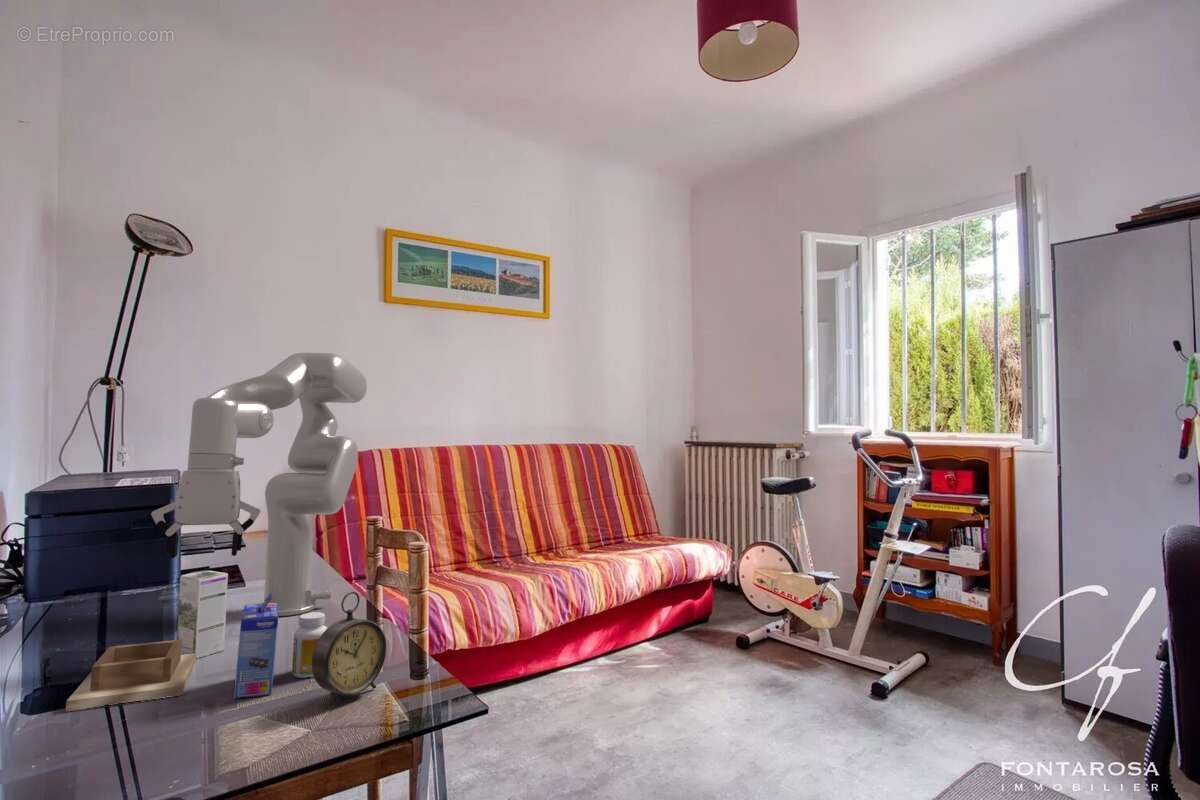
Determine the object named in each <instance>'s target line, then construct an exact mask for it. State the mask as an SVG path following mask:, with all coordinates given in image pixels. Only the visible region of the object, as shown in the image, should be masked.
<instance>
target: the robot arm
mask: <svg viewBox="0 0 1200 800" xmlns="http://www.w3.org/2000/svg"><path fill="white" fill-rule="evenodd" d="M367 385H368V384H367V381H366V377H365V375H364V374H363V373H362V371H361V370H360V369H358V368H357V366H354V364H352V363H351V362H350V361H348V359H346V358H344V357H343V356H341V355H339V354H337V353H331V352H297V353H294V354H291V355H289V356H288V357H286V358H284V359H283V360H282V361H281V362H279V363H278V364H277V365H276V366H274V367H272V368H271V369H270V370H268V371H267V372H266V373H264V374H261V375H257V376H253V377H251V378H248V379H244V380H241V381H238V382H235V383H232V384H229V385H226V386H224V387H221V388H219V389H217V390H216V391H214V392H213V393H211V394H209V395H207V397H201V398H200V397H199V398H197V399H196V400H195V401H194V402H193V404H192V411H191V420H190V421H191V422H190V423H191V424H190V434H189V445H188V446H189V447H188V457H187V458H188V459H187V470H182V473H181V477H180V481H179V484H178V489H177V495H176V500H175V501H173V502H171V503H169V504H167V505H165V506H162V507H160V508H159V507H158V508H157V509H155V510H153V511H151V514H150V515H151V518H152V519H153V521H154V522H155V524H156V527H157V528H158V529H160V530H161V532H163V534H165V536H167V540H166V549H165V550H166V554H169V559H175V558H176V557H177V556H178V551H179V549H178V548H179V537H180V535H179V534H178V531H179V530H180V528H182V527H183V526H210V525H211V526H212V525H213V526H214V525H229V526H230V527H231V528H232V529H233V530H234V533H233V534H232V543H231V556H233V557H235V556H237V553H238V551H239V552H240V551H242V543H243V542H242V541H243V533H244V532H246V531H247V530H248V529H249V528H250V527H251V526H253V524H254V523H255V521H256V520H257V518H258V517H259V515H260V513H261V509H260V508H258V507H256V506H253V505H251V504H249V503H247V502H245V501H242V500H241V476H240V471H239V470H235V468H236V467H238V466H244V463H245V462H244V461H245V459H244V457H238V456H237V454H236V452H237V439H258V438H261V437H265V435H266V434H269V432H270V431H271V430H272V427H273V426H274V421H275V420H274V419H275V418H274V414H273V410H279V409H283V408H286V407H288V406H290V405H291V404H293V403H294V402H295V401H297V400H299V405H300V409H301V412H302V418H301V422H300V425H299V428H298V431H297V433H296V436H295V437H294V440H293V441H292V442H293V443H292V445H291V447H290V449H289V453H288V456H287V465H288V467H289V468H290V469H291V470H292V471H293V472H284V473H279V474H277V475H274V476H273V477H272V478H270V480H268V482H267V483H266V487H265V490H264V491H265V493H264V496H265V505H266V506H265V507H266V511H267V543H266V557H265V558H266V559H265V576H264V577H265V578H264V592H263V602H262V603H264V602H265V600H266V598H267V597H268V596H269V594H270V593H271V592H272V598H271V600H270V602H269V603H278V617H287V616H295V615H300V614H301V615H302V614H306V613H309V612H312V610H314V609H316V607H317V600H331V597H332V595H331V594H332V591H331V590H330V589H329V590H325V589H319V590H315V589H312V585H311V577H312V576H311V574H312V573H311V572H312V558H313V556H312V555H313V541H314V539H313V538H314V533H313V532H314V531H313V527H312V525H311V523H310V520H309V519H308V518H307V516H306V515H327V516H328V515H333V514H336V513H338V512H339V511H340V510H341V509H342V508H343V506H344V504H345V502H346V499H347V495H348V493H349V489H350V487H351V483H352V481H353V478H354V475H355V472H356V469H357V465H358V459H359V449H358V446H357V443H356V442H355V440H353V439H352V438H350V437H349V436H348V437H347V436H343V435H336V433H337V431H338V428H339V424H338V420H337V419H336V415H334V413H333V412H332V410H331V409H330V408H329V406H328V404H327V403H335V404H336V403H339V404H340V403H341V404H345V403H346V404H354V403H359V402H360V401H362V400H363V399H364V398H365V396H366V394H367V390H368V386H367ZM173 510H174V515H173V519H174V523H173V524H172V525H171V524H169V523H168V522H167V521H166V520H165V518H164V514H167V513H170V512H171V511H173ZM241 510H242V511H244V512H247V513H248V514H249V515H250V516H249V517H248V518H247V520H245V521H244V522H243V523H241V521H239V520H238V519H239V518H240V512H241Z"/></svg>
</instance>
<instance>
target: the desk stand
mask: <svg viewBox="0 0 1200 800" xmlns="http://www.w3.org/2000/svg"><path fill="white" fill-rule="evenodd" d="M181 645H182V640H177V639H173V640H165V641H153V642H145V643H135V644H124V645H114V646H109V647H108V648H107V649H106V650H105V651H104V653H102V655H100V657H99V658H98V660H97V661H96V662H95V663H94V664H93V665H92V667H91V672H90V673H89V674H88V675H87V676H86V677H85V679H84V680H83V681H82V682H81V684H80V685H79V686H78V687H77V688H76V690H74V692H73V693H72V694H71V695H70V696H69V698H67V700H66V703H65V712H71V711H72V712H74V711H81V710H88V709H87V708H89V709H94V708H93V707H95V706H101V705H107V704H108V705H109V704H114V703H126V702H133V701H139V700H144V699H153V698H159V697H167V696H179V697H181V696H180V695H182V696H183V693H184V691H185V689H186V686H187V684H188V682H187V681H189V680H190V677H191V675H192V673H191V671H192V672H193V670H194V668H195V666H194V664H195V665H196V663H197V659H196V656H197V653H194V654H185V655H181ZM195 662H196V663H195ZM193 667H194V668H193ZM192 669H193V670H192ZM190 674H191V675H190ZM189 676H190V677H189ZM188 679H189V680H188ZM184 688H185V689H184ZM183 690H184V691H183ZM126 704H127V703H126ZM91 707H92V708H91Z"/></svg>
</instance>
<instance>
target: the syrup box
mask: <svg viewBox="0 0 1200 800" xmlns="http://www.w3.org/2000/svg"><path fill="white" fill-rule="evenodd" d="M228 578H229V574H228V573H226V572H220V571H215V570H214V571H213V570H199V571H194V572H190V573H186V574H183V575H180V579H179V597H178V613H177V615H178V616H177V630H176V631H177V634H176V640H182V645H181V655H185V654H194V653H197V656H196V658H198V659H200V658H199V657H201V656H206V655H209V654H212V655H214V654H213V653H216V652H218V651H220V650H223V649H224V650H225V637H226V617H227V598H228V596H227V595H228ZM216 654H217V653H216ZM209 656H210V655H209ZM206 657H207V656H206Z"/></svg>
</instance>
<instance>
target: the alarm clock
mask: <svg viewBox="0 0 1200 800" xmlns="http://www.w3.org/2000/svg"><path fill="white" fill-rule="evenodd" d="M352 594H353V595H355V596H356V598H357V601H356V602H357V603H356V606H355V607H354V608H353V609H350V608H349V609H347V610H345V608H344V602H345V600H346V598H347V597H348V596H349V595H352ZM359 604H360V595H359V593H358V592H356V591H350V592H347V593H346V594H345V595H344V596H343V598H342V600H341V604H340V606H341V610H342V612H343V613H345V614H347V616H346V617H345V618H343V619H342V618H340V619H339V620H337V621H335V622H334V623H332V624H331V625H330V626H327V629H326V630H325V631H324V633H323V634H322V635H321V637H320V638H319V640H318V642H317V644H316V646H315V649H314V652H313V656H312V672H313V676H314V677H313V678H314V680H315V681H316V683H317V684H318V686H319V687H320V688H322V689H323V690H326V691H327V692H330V694H329V696H328V697H327V701H326V703H325V704H324V706H323V707H324V709H328V708H330V704H331V702H332V701H333V699H334V697H335V695H341V696H354V695H357V694H359V693H361V692H363V691H365V690H366V689H367V688H369V686H370V687H371V688H372V689H373V690H375V689H376V688H377V685H376V684H374V682H375V680H376V679H377V677H378V676H379V675H380V672H381V670H382V668H383V666H384V663H385V661H386V660H385V659H386V655H387V640H386V636H385V633H384V631H383V629H382V628H381V626H380V625H379V624H377V623H376V622H375V621H373V620H370V619H362V618H359V617H358V618H357V617H354V616H353V613H354V612H355V611H356V610H357V608H358V607H359ZM374 688H375V689H374Z"/></svg>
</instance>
